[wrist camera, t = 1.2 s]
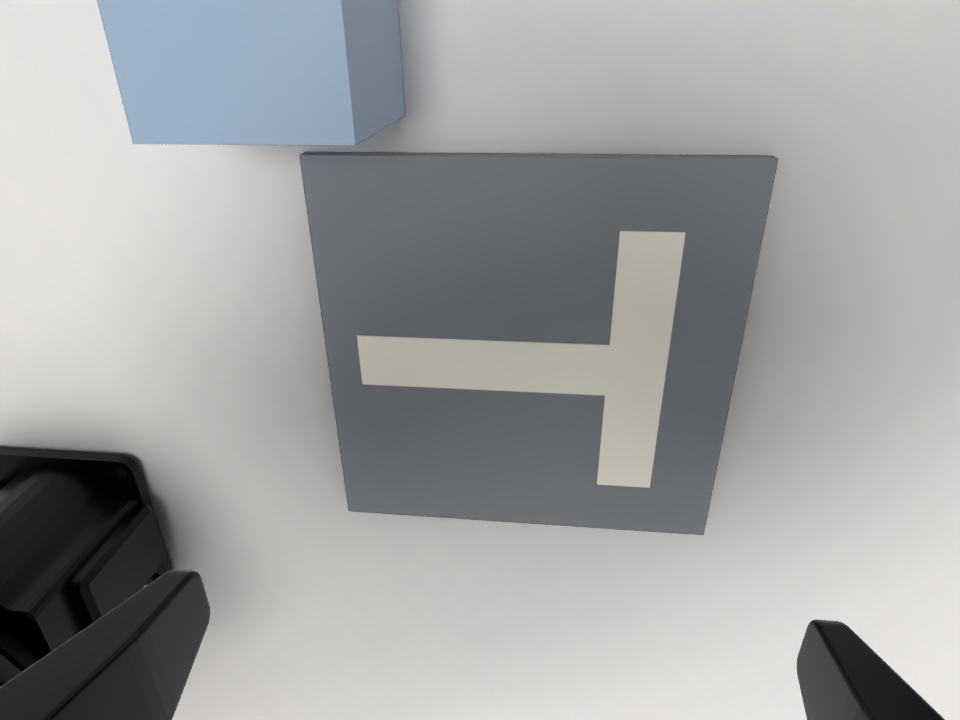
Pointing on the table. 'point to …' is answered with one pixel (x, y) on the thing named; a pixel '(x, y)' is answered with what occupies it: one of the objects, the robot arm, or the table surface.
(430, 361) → the letter card
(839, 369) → the table surface
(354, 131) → the blue cube
